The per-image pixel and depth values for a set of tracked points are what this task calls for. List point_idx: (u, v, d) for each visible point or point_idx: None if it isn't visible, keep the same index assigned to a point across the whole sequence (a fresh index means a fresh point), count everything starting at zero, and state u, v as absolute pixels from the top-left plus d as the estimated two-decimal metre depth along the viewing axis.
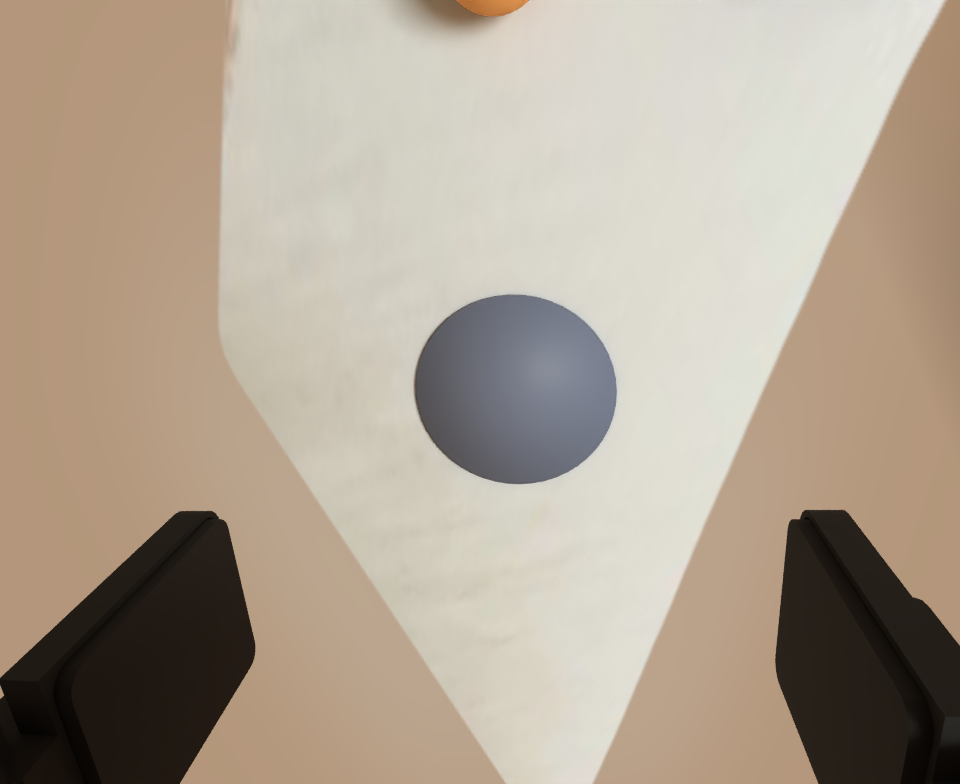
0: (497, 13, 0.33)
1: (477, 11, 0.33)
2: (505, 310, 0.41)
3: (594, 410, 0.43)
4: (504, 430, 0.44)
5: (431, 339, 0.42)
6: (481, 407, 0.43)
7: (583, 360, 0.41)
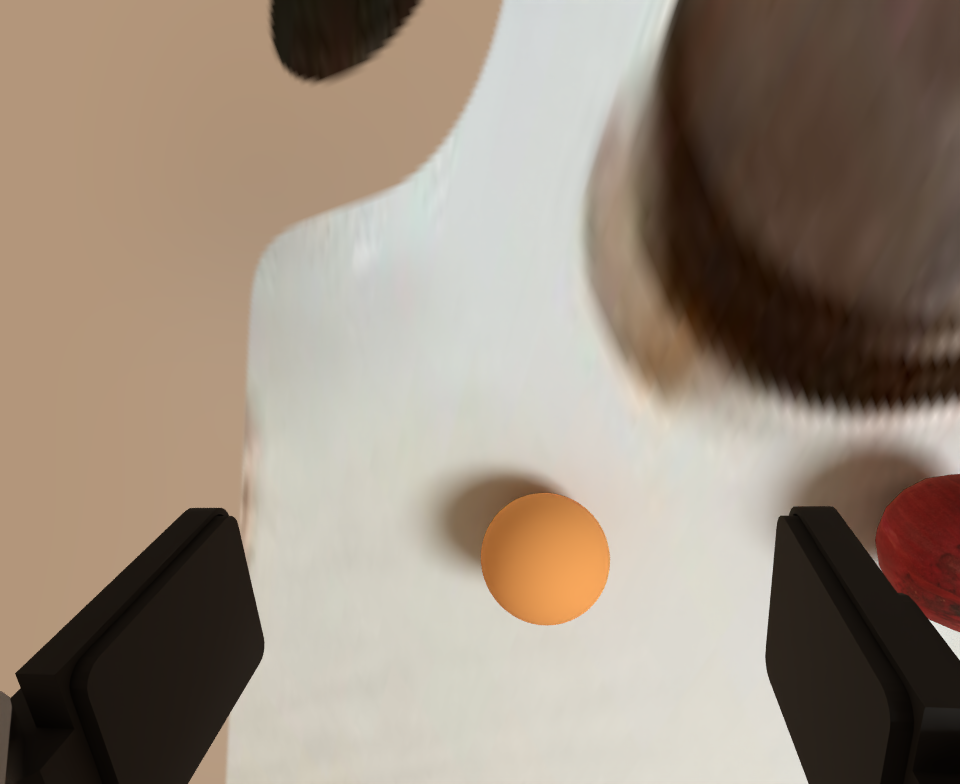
0: None
1: None
2: None
3: None
4: None
5: None
6: None
7: None
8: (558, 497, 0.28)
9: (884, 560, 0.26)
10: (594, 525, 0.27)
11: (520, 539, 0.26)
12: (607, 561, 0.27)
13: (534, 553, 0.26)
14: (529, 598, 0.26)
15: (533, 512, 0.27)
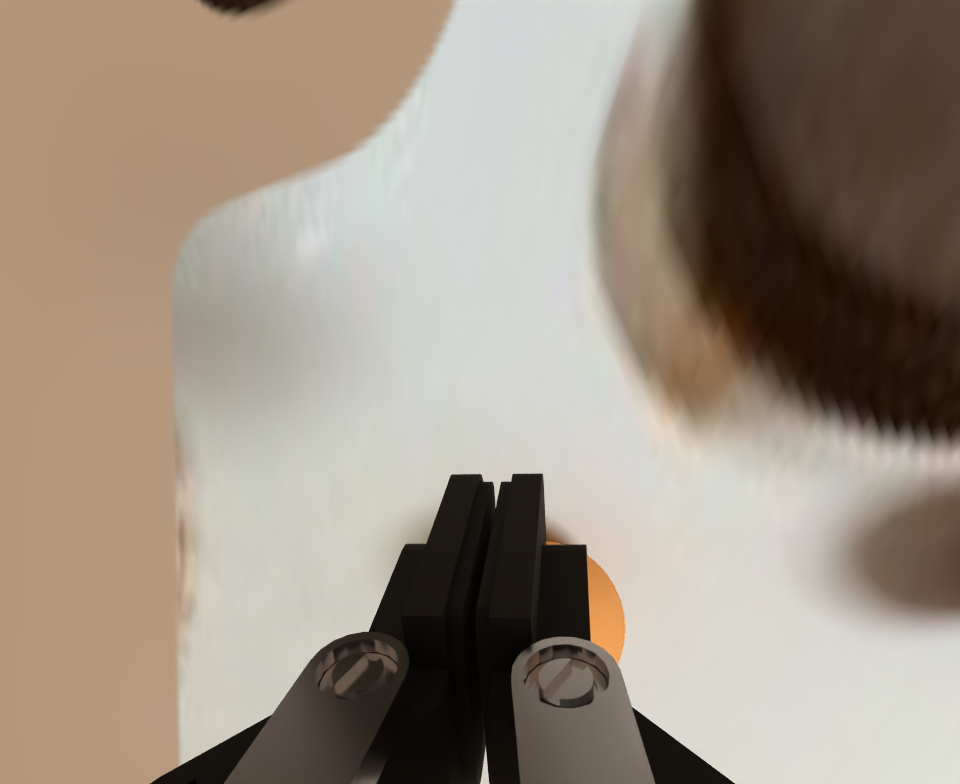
0: None
1: None
2: None
3: None
4: None
5: None
6: None
7: None
8: None
9: None
10: (606, 588, 0.22)
11: None
12: (622, 632, 0.22)
13: None
14: None
15: None
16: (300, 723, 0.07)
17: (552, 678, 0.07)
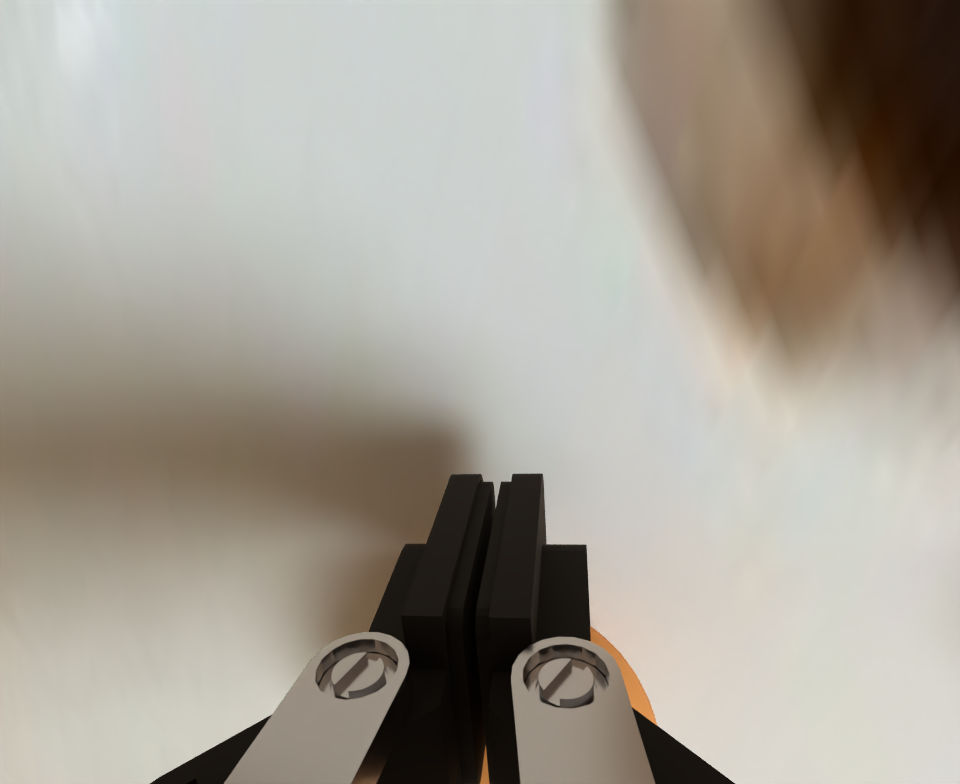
0: None
1: None
2: None
3: None
4: None
5: None
6: None
7: None
8: None
9: None
10: None
11: None
12: None
13: None
14: None
15: None
16: (300, 723, 0.07)
17: (552, 678, 0.07)
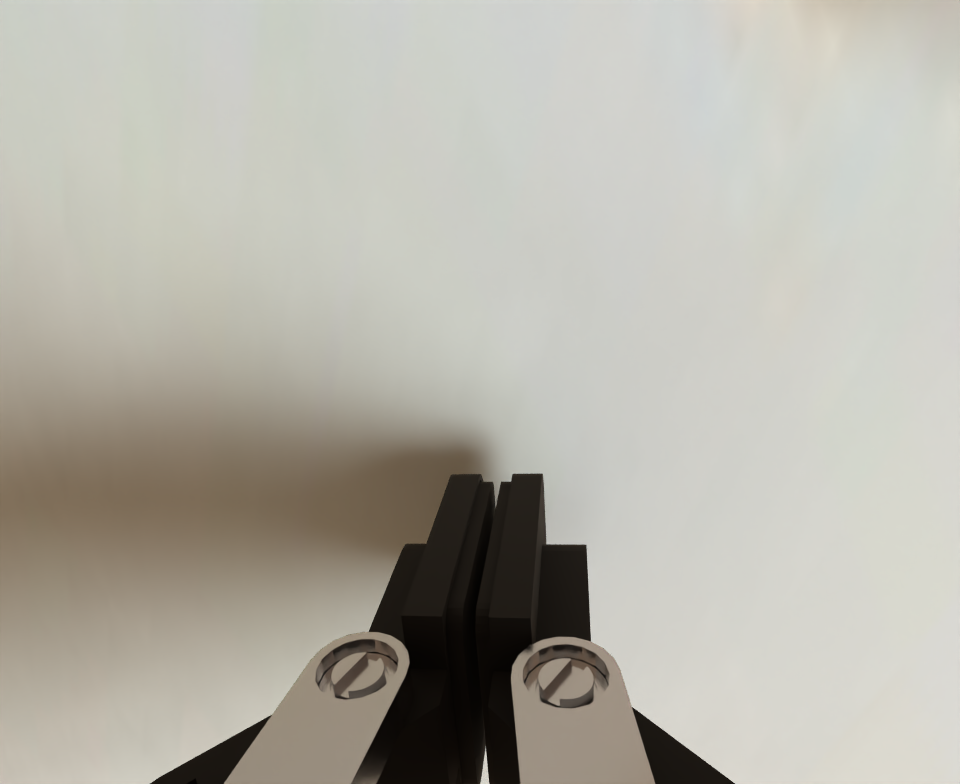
0: None
1: None
2: None
3: None
4: None
5: None
6: None
7: None
8: None
9: None
10: None
11: None
12: None
13: None
14: None
15: None
16: (300, 723, 0.07)
17: (552, 678, 0.07)
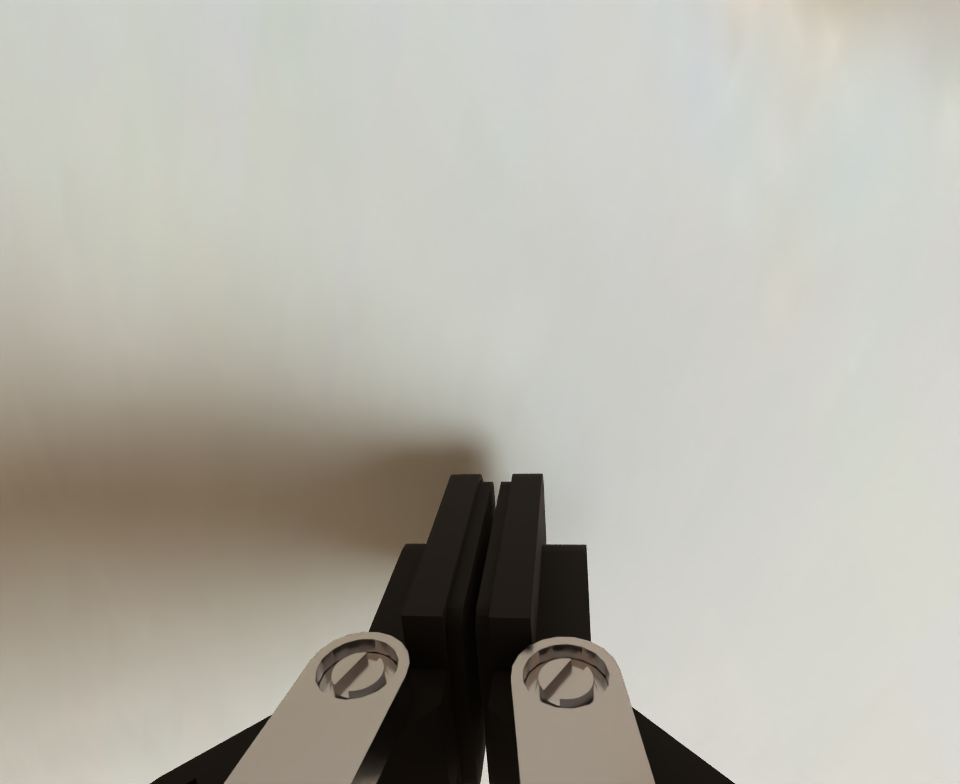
0: None
1: None
2: None
3: None
4: None
5: None
6: None
7: None
8: None
9: None
10: None
11: None
12: None
13: None
14: None
15: None
16: (300, 723, 0.07)
17: (552, 678, 0.07)
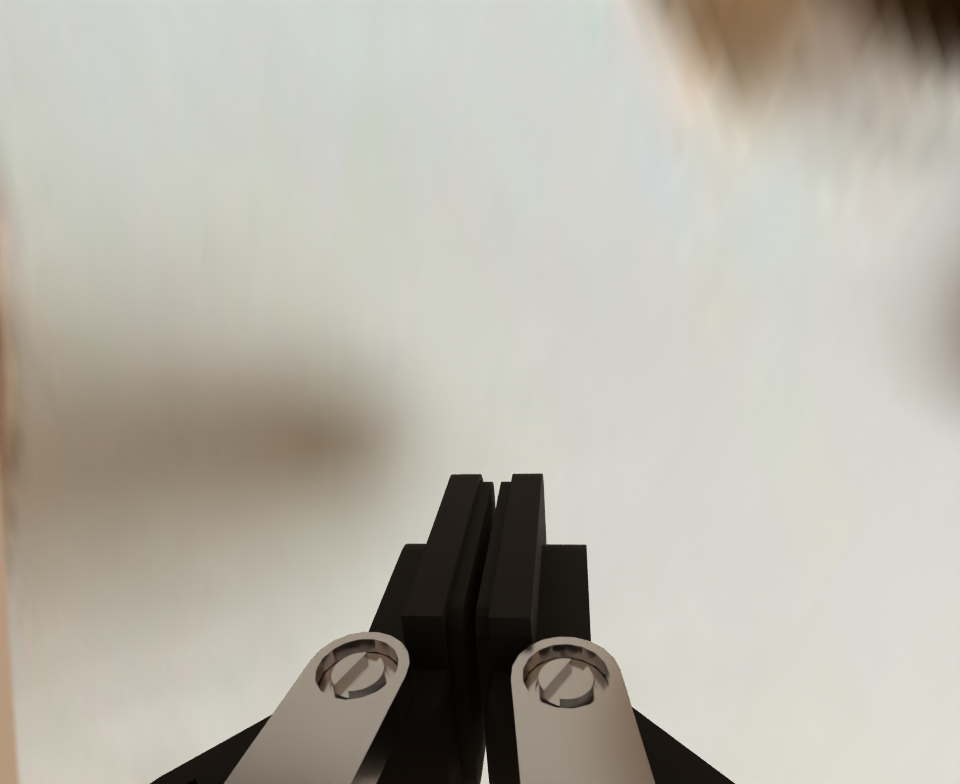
0: None
1: None
2: None
3: None
4: None
5: None
6: None
7: None
8: None
9: None
10: None
11: None
12: None
13: None
14: None
15: None
16: (300, 723, 0.07)
17: (552, 678, 0.07)
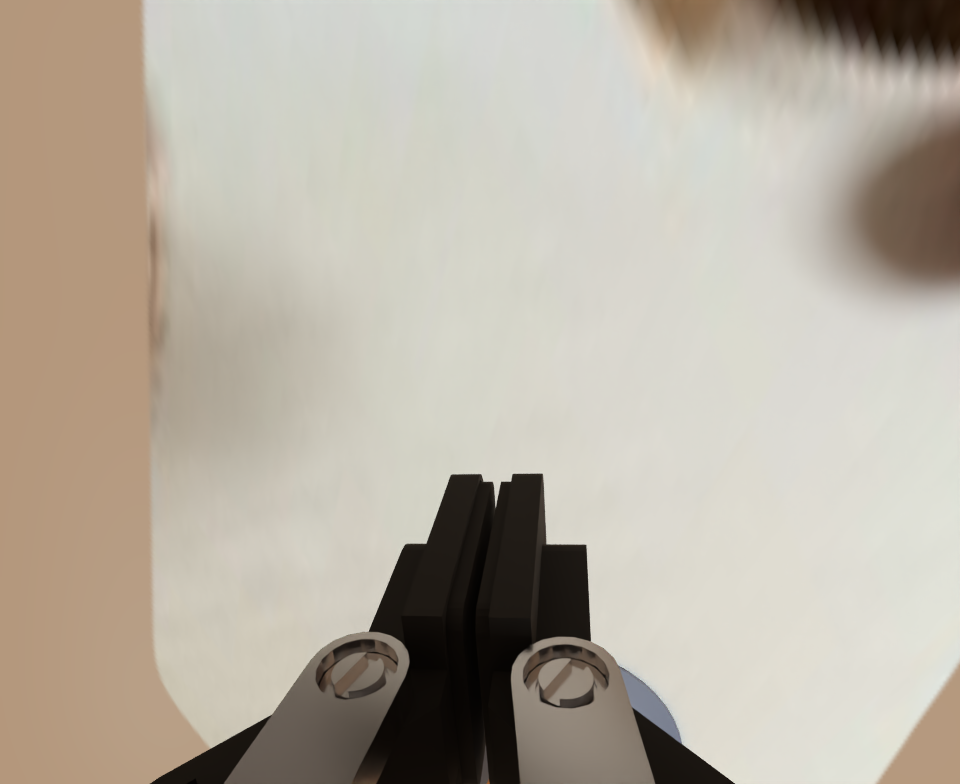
0: None
1: None
2: None
3: None
4: None
5: None
6: None
7: None
8: None
9: None
10: None
11: None
12: None
13: None
14: None
15: None
16: (300, 723, 0.07)
17: (552, 678, 0.07)
